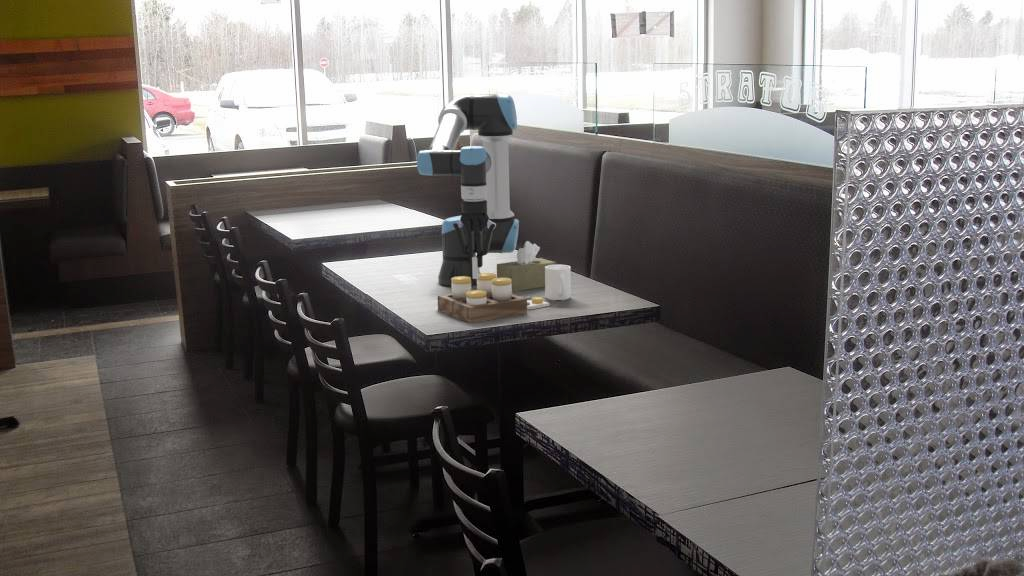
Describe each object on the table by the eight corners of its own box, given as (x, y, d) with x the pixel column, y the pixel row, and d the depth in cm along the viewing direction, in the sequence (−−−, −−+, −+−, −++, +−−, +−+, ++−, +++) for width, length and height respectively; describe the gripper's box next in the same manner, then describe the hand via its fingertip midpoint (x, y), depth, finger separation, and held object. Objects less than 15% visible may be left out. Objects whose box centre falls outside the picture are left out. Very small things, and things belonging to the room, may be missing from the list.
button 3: (473, 293, 308) (473, 274, 307) (490, 290, 311) (489, 272, 310) (483, 296, 303) (483, 277, 302) (499, 294, 306) (499, 275, 305)
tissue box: (511, 292, 329) (510, 245, 326) (496, 287, 337) (495, 241, 334) (557, 284, 339) (556, 239, 336) (541, 280, 347) (540, 236, 344)
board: (437, 310, 305) (437, 295, 304) (492, 301, 316) (492, 287, 315) (470, 323, 289) (469, 307, 288) (527, 313, 299) (526, 298, 298)
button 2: (463, 311, 297) (462, 291, 295) (480, 308, 300) (479, 289, 298) (473, 315, 292) (472, 295, 290) (490, 312, 295) (490, 292, 293)
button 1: (448, 296, 303) (447, 277, 302) (465, 294, 307) (464, 275, 305) (458, 300, 298) (457, 281, 297) (475, 297, 302) (474, 278, 300)
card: (502, 303, 313) (501, 296, 312) (528, 299, 318) (528, 292, 317) (522, 310, 303) (522, 303, 302) (549, 306, 308) (549, 299, 308)
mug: (576, 302, 312) (576, 270, 310) (550, 304, 311) (550, 272, 309) (567, 294, 324) (567, 263, 321) (542, 295, 322) (542, 265, 320)
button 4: (488, 298, 301) (488, 279, 299) (505, 295, 304) (504, 276, 303) (498, 302, 296) (498, 282, 294) (515, 299, 299) (515, 280, 298)
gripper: (449, 201, 286) (451, 279, 292) (492, 201, 283) (494, 281, 289) (456, 197, 293) (458, 274, 299) (498, 198, 291) (500, 275, 296)
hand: (476, 277), depth 294 cm, fingers closed
